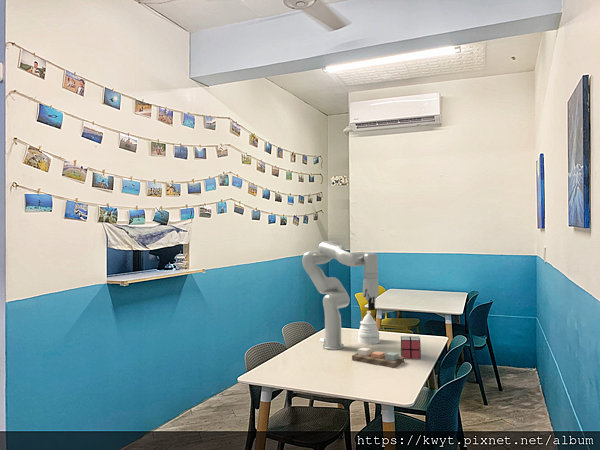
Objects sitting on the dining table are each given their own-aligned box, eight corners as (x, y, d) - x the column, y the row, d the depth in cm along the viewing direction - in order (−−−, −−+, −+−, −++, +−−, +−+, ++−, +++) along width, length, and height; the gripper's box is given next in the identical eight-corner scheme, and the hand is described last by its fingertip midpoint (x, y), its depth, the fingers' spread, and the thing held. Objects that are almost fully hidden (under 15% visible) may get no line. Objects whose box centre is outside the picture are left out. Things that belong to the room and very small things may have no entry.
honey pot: (360, 338, 288) (360, 309, 289) (381, 339, 284) (380, 310, 284) (356, 343, 276) (355, 313, 277) (377, 344, 272) (376, 314, 272)
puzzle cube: (420, 359, 239) (420, 340, 240) (401, 358, 241) (400, 339, 242) (419, 354, 249) (419, 336, 249) (401, 353, 251) (400, 335, 251)
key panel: (352, 360, 240) (351, 355, 240) (363, 355, 249) (363, 350, 249) (393, 368, 225) (393, 363, 225) (404, 362, 235) (404, 357, 235)
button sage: (385, 359, 232) (385, 353, 232) (389, 357, 236) (389, 351, 236) (394, 361, 229) (394, 355, 229) (398, 359, 233) (398, 353, 233)
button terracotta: (371, 359, 237) (371, 353, 237) (375, 356, 241) (375, 351, 241) (379, 360, 234) (379, 354, 234) (384, 358, 238) (384, 352, 238)
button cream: (357, 355, 242) (357, 349, 242) (362, 353, 246) (362, 347, 246) (366, 356, 239) (366, 350, 239) (370, 354, 243) (370, 348, 243)
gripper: (371, 274, 256) (372, 307, 256) (357, 276, 244) (358, 311, 244) (383, 275, 251) (384, 308, 251) (370, 277, 239) (370, 312, 239)
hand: (371, 309), depth 247 cm, fingers closed
